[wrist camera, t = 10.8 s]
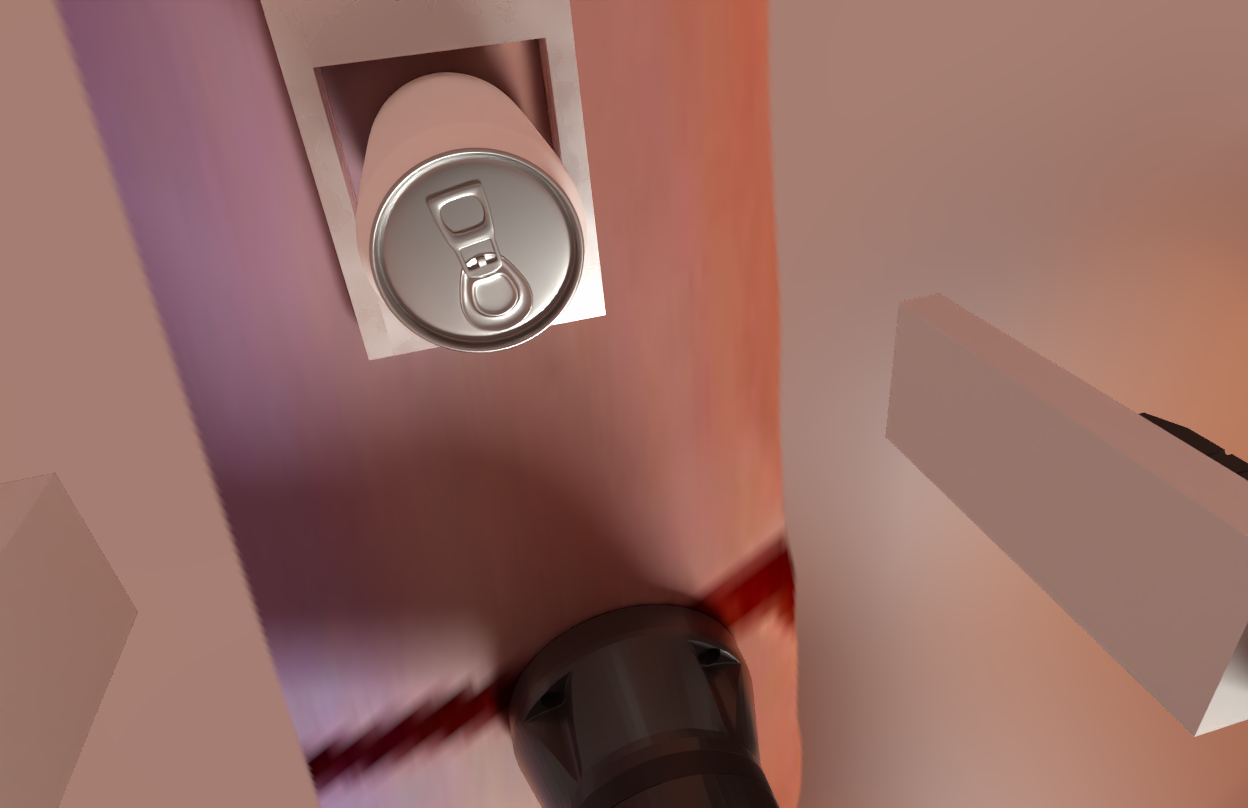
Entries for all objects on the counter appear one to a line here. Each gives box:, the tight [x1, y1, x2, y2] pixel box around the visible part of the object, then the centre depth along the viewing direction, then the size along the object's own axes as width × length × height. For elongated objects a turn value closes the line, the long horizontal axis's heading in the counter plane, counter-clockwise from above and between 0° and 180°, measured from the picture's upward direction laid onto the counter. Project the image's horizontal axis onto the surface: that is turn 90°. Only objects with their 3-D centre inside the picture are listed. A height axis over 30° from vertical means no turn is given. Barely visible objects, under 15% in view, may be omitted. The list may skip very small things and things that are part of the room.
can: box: [356, 72, 587, 353], centre depth 25 cm, size 6×6×12 cm
